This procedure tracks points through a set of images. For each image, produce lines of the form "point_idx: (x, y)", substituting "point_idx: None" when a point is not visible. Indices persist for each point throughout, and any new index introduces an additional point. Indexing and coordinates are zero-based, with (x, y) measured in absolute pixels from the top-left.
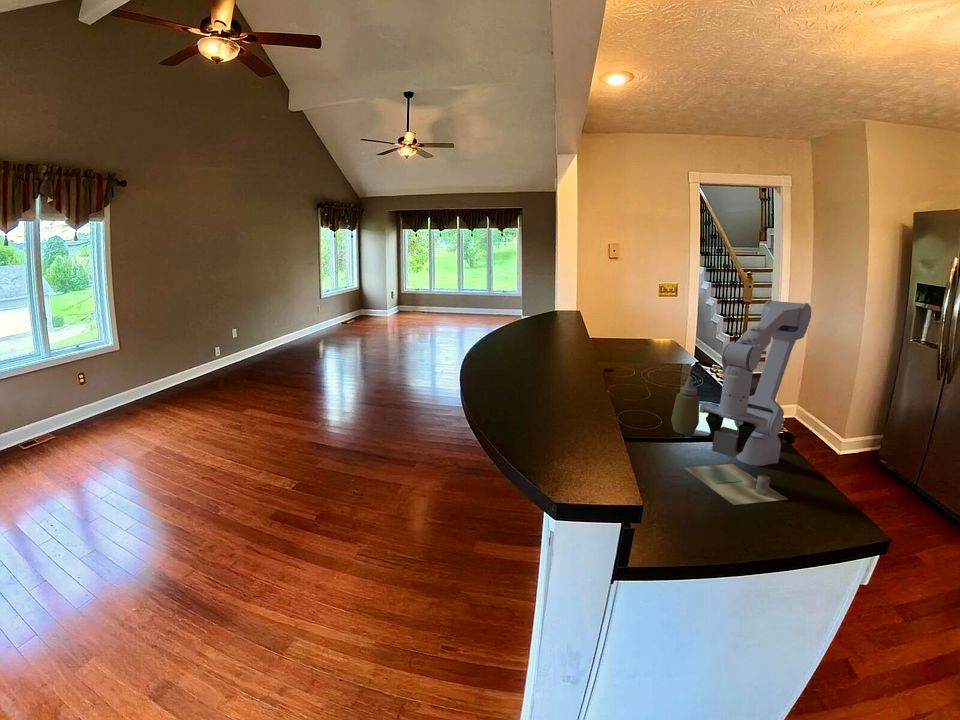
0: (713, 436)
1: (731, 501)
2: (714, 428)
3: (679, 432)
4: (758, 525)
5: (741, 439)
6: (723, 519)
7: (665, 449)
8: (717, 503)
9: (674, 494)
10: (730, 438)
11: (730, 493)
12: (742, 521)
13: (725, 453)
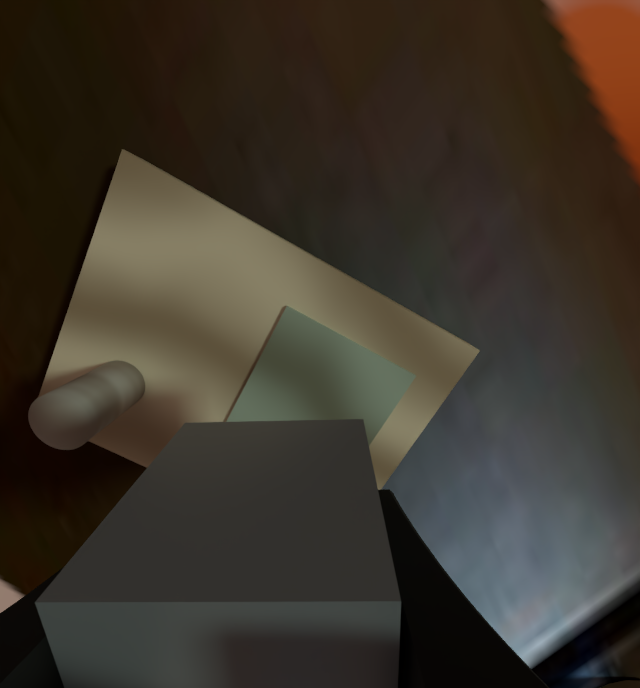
0: (406, 550)
1: (147, 176)
2: (436, 678)
3: (635, 685)
4: (10, 123)
5: (22, 616)
6: (120, 27)
7: (628, 507)
8: (220, 173)
9: (403, 70)
10: (149, 561)
11: (196, 262)
12: (65, 94)
13: (249, 428)
